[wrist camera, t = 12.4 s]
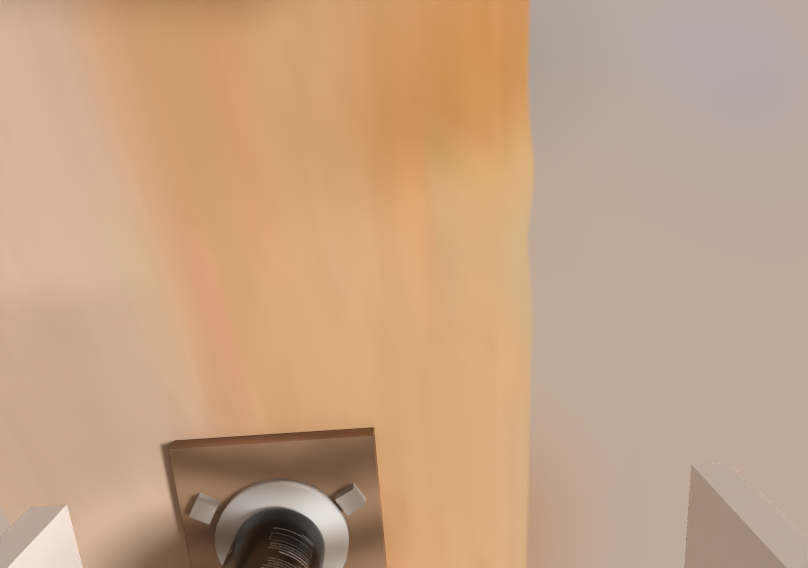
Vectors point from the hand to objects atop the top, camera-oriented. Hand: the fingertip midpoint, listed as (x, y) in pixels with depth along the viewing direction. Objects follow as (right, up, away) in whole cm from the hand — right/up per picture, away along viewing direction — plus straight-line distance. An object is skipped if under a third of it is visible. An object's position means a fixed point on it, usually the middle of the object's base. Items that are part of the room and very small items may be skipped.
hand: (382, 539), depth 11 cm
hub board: (-9, -14, +31) cm, 35 cm away
